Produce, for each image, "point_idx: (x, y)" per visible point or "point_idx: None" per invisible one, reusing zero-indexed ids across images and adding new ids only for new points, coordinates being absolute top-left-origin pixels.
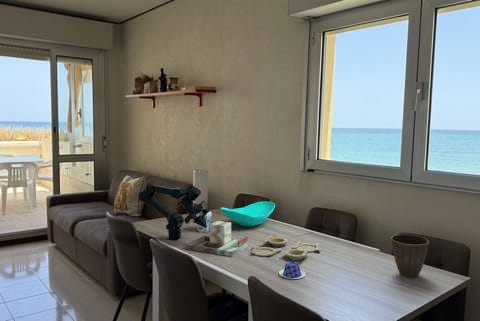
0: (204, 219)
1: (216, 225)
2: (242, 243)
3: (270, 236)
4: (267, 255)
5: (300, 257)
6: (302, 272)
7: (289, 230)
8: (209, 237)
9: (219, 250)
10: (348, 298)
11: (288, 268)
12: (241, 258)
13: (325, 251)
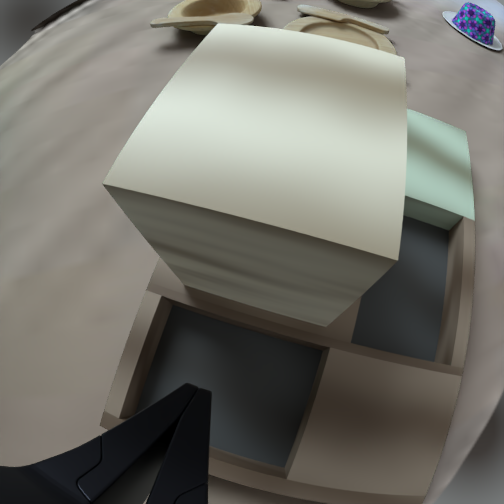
0: (76, 457)
1: (405, 138)
2: None
3: (173, 19)
4: (385, 37)
5: None
6: (451, 15)
7: (44, 47)
8: (137, 372)
9: (470, 205)
10: (495, 11)
11: (494, 25)
12: (453, 114)
13: None
